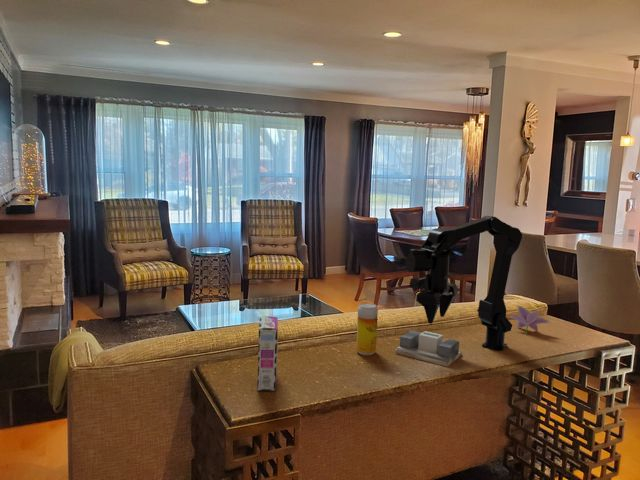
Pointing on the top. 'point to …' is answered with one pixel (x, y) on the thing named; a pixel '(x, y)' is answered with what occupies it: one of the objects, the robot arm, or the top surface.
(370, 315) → the beer can
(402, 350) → the rail board
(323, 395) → the top surface
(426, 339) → the module block
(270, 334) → the candy bar box
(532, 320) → the lily
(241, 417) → the top surface
